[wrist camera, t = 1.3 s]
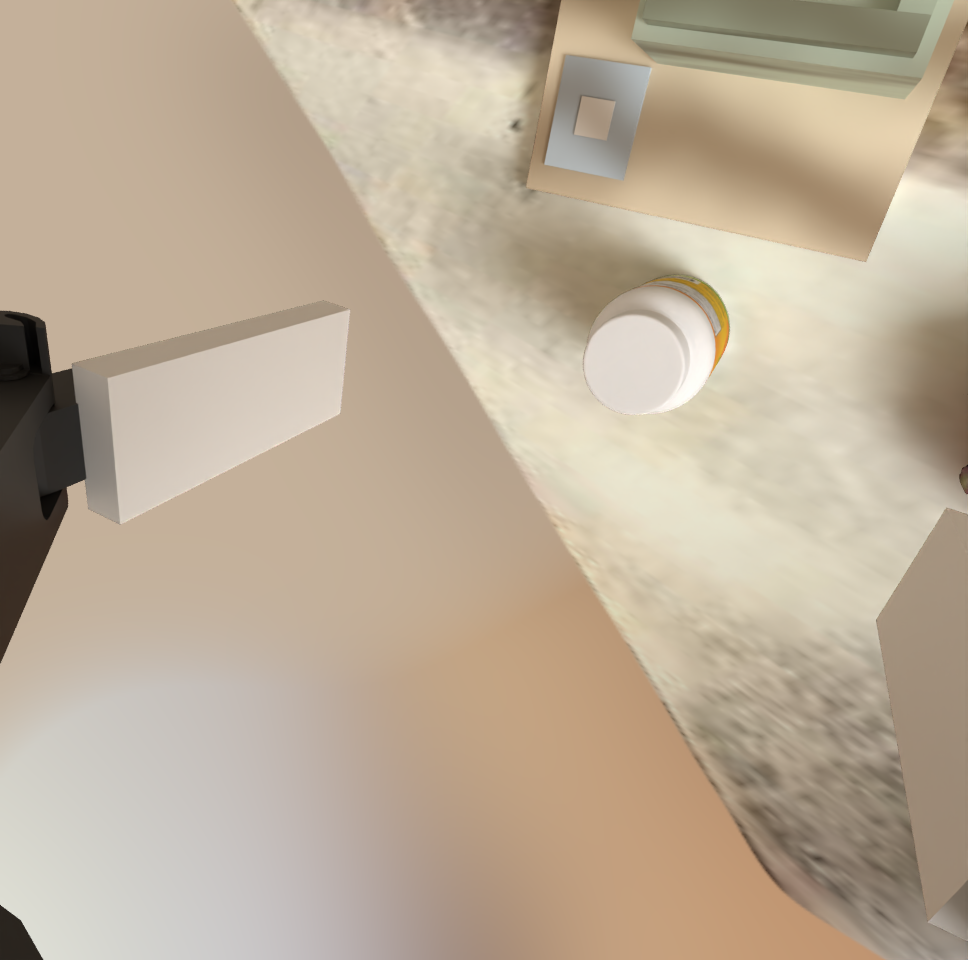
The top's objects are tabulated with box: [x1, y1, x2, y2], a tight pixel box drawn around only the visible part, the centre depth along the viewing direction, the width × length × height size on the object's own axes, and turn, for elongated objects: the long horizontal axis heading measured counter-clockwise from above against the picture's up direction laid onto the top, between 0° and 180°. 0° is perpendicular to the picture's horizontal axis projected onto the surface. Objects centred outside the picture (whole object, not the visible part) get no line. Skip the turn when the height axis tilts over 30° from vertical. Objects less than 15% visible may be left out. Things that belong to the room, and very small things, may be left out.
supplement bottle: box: [583, 275, 730, 415], centre depth 30 cm, size 5×5×10 cm
